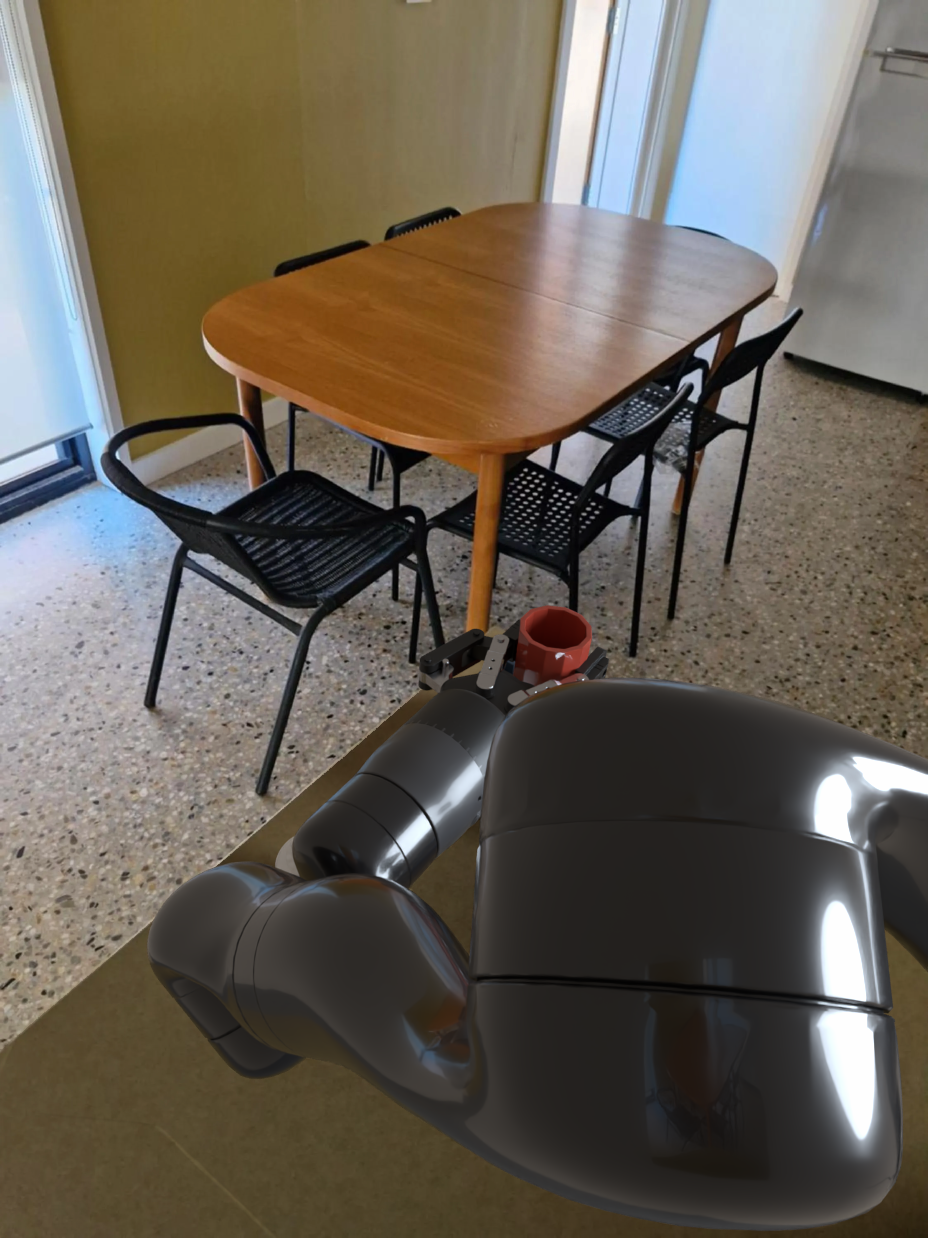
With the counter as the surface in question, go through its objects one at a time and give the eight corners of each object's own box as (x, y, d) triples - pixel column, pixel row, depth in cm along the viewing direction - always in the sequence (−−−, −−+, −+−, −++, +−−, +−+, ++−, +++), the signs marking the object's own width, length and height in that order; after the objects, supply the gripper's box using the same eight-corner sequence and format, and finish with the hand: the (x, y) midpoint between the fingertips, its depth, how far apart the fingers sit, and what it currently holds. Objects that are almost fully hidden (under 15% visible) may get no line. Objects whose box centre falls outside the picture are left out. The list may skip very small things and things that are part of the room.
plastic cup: (585, 712, 70) (604, 625, 65) (551, 750, 67) (569, 662, 61) (529, 683, 72) (543, 596, 67) (494, 719, 69) (506, 631, 63)
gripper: (539, 791, 51) (663, 642, 62) (349, 682, 57) (494, 564, 68) (524, 868, 56) (642, 717, 67) (350, 761, 62) (485, 638, 73)
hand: (567, 641), depth 68 cm, fingers closed on plastic cup, 5 cm apart
